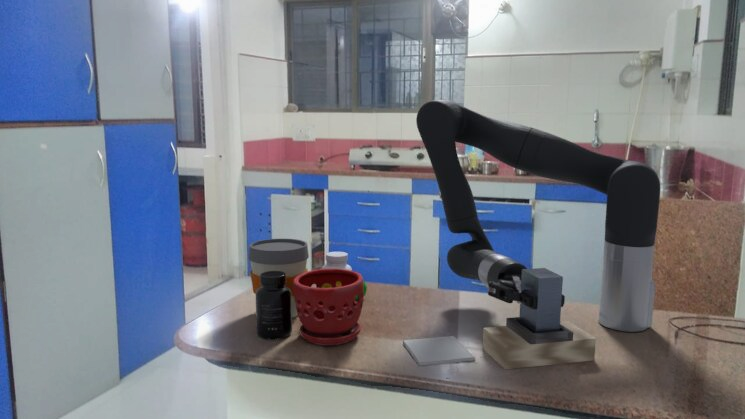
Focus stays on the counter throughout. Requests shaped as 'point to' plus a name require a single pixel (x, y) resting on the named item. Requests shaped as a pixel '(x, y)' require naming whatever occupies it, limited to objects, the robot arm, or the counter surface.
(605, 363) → the counter surface
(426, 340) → the rubber mat
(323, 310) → the plant pot
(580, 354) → the tan piece
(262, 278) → the supplement bottle
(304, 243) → the reusable coffee cup
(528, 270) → the brushed metal block
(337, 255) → the supplement bottle
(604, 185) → the robot arm
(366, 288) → the polyhedron
